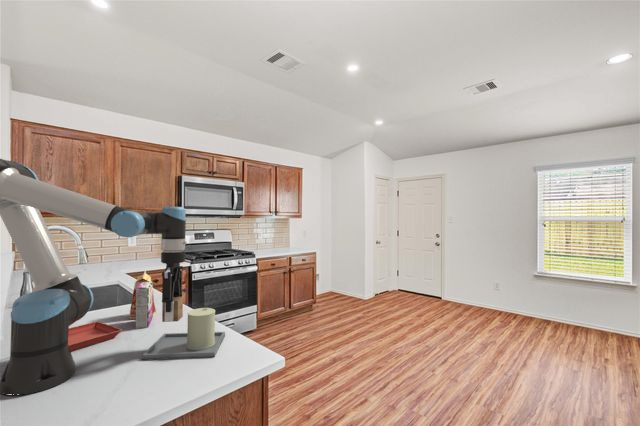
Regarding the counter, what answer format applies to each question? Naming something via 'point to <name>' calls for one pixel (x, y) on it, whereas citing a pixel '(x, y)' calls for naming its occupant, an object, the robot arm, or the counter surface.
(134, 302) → the milk carton
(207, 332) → the can
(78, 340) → the plant saucer
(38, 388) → the robot arm
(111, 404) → the counter surface
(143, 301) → the candy bar box
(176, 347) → the tray
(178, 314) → the walnut block
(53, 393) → the counter surface
